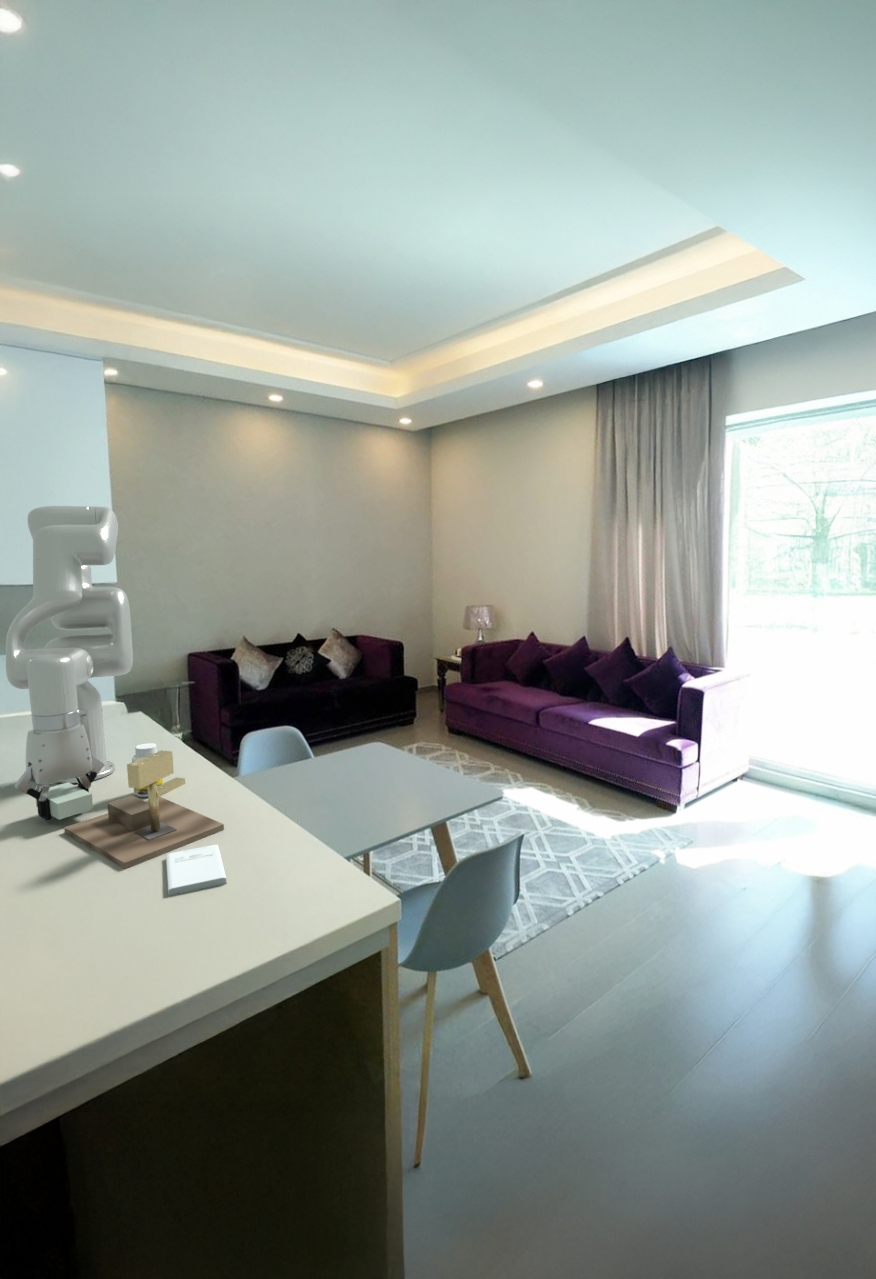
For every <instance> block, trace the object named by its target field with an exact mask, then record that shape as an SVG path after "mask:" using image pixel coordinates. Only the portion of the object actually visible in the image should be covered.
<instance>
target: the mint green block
mask: <svg viewBox="0 0 876 1279" xmlns="http://www.w3.org/2000/svg"><path fill="white" fill-rule="evenodd" d="M77 786H78V785H74V783H69V782H67V783H59V784H57V785H54V786H50V788H49V791H48V795H47V799H48V800H49V803H50V813H51V815H52V817H54V818H56V819H57V820H62V819H66V818H68V817H72V816H76V815H78V814H81V813H84V812H88V811H91V810H94V805H93V804H94V803H93V795H92V793H91V792H90V791H89V792H87V791H85V790H83V789H81V788H79V787H77ZM35 806H36V808H37V799H36V798H35Z"/></svg>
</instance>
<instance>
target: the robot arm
mask: <svg viewBox="0 0 876 1279" xmlns="http://www.w3.org/2000/svg"><path fill="white" fill-rule="evenodd" d="M27 526H28V530H29V533H30V536H31V539H32V586H33V587H32V588H33V589H32V590H33V592H32V594H33V595H32V597H31V599H30V601H28V603H27V604H26V605H24V606H23V607H22V608H21V610H19V612H18V613H17V614H16V616H14V618H13V620H12V621H11V623H10V625H9V627H8V631H7V634H6V638H5V674H6V678H7V680H8V682H9V684H10V685H11V687H14V688H16V689H20V690H28V694H29V704H30V705H29V706H30V712H31V714H30V716H31V723H32V725H31V726H32V729H31V730H29V731H28V732H27V736H26V745H25V771H24V772H23V774H22V775H21V776H20V777H19V779H18V780H17V782H15V784H14V788H15V789H17V790H18V791H20V792H22V793H24V794H26V795H28V796H30V797H32V798H34V799H35V800H36V799H37V807H36V808H37V813H38V817H40V818H41V819H43V820H44V821H47V822H50V821H51V820H52V819H53V816H52V815H51V813H50V803H49V800H48V799H47V795H48V791H49V788H50V787H51V785H53V784H57V783H59V784H64V783H67V782H69V783H71V784H77V785H76V786H77V787H79V788H81V789H83V790H85V791H87V792H89V793H90V790H89V789H90V788H91V787H92V783H93V782H94V781H96V780H98V779H102V778H105V777H107V776H109V775H111V774H112V773H113V772H114V771H115V769H116V766H115V763H114V762H112V761H110V760H107V748H106V739H105V738H106V737H105V736H106V735H105V728H104V725H105V724H104V715H103V703H102V697H101V693H100V692H99V691H98V688H96V687H95V686H94V685H93V684H92V683H91V682H90V680H89V679H92V678H103V677H104V678H105V677H115V676H123V675H127V674H128V673H130V672H131V670H132V668H133V664H134V654H133V653H134V650H133V636H132V635H133V634H132V620H131V618H132V617H131V608H130V602H129V598H128V596H127V593H126V592H125V591H124V590H123V589H122V588H119V587H116V586H93V584H92V583H93V582H92V568H91V566H107V565H110V564H111V562H112V561H113V559H114V557H115V553H116V548H117V542H118V537H119V522H118V519H117V515H116V513H115V512H114V511H113V510H112V509H111V508H108V507H106V506H88V505H87V506H83V505H81V506H80V505H79V506H77V505H76V506H75V505H47V506H39V507H36V508H33V509H31V510H30V511H29V513H28V515H27ZM49 618H50V620H51V621H50V622H51V624H52V625H53V626H54V627H55V629H58V630H62V631H63V630H64V631H86V630H88V631H89V630H106V631H108V632H109V633H106V634H105V633H104V634H80V635H79V634H78V635H66V636H65V635H64V636H58V637H56V638H55V637H54V638H53V639H51V640H49V641H48V642H47V643H46V644H45V645H44V647H43V648H38V649H37V648H36V649H26V641H27V638H28V637H29V634H30V633H31V631H33V630H34V628H36V627H37V626H38V625H40V624H41V623H42V622H44V621H46V620H48V619H49ZM88 680H89V681H88ZM29 782H32V783H33V782H34V783H35V788H33V787H31V786H29V785H28V784H29Z"/></svg>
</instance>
